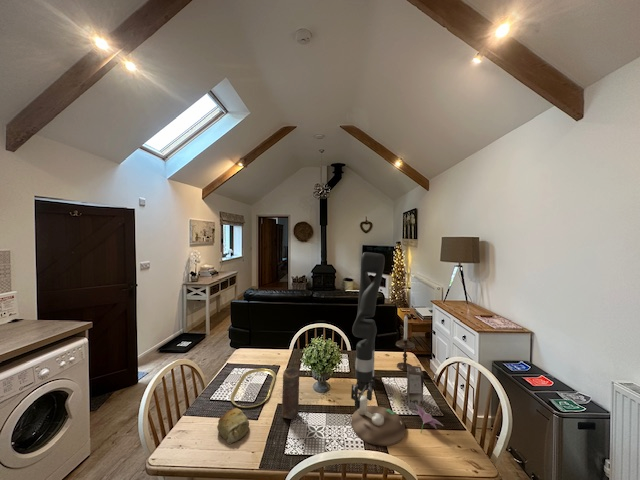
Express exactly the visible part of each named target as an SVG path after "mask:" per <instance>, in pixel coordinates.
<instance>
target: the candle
mask: <svg viewBox="0 0 640 480" xmlns="http://www.w3.org/2000/svg"><path fill="white" fill-rule="evenodd" d="M299 392H300V370H299V369H298V368H296V367H288V368H286V369H284V370H283V374H282V393H281V394H282V397H281V398H282V399H281V417H282V418H283V419H288V420H293V419H295V418H296V417H297V416H298V415H299V405H300V397H299V396H300V393H299Z"/></svg>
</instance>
